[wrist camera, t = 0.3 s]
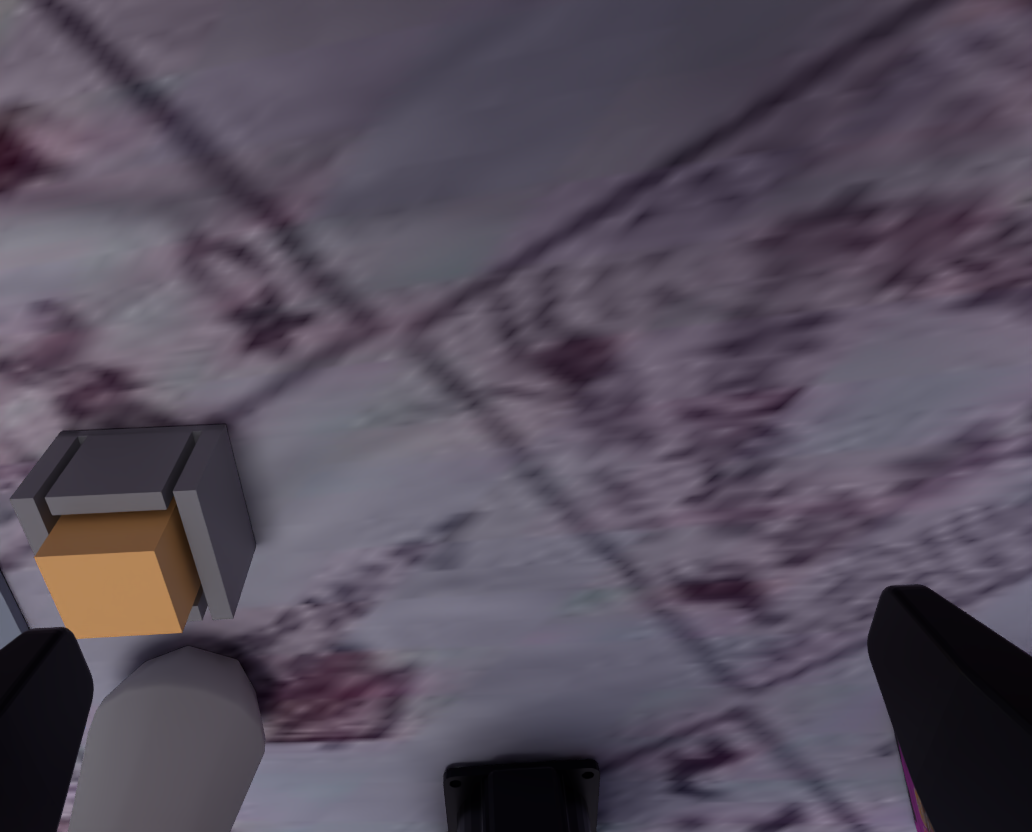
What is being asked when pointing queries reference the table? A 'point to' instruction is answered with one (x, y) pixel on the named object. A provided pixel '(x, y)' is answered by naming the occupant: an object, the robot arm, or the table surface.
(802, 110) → the table surface
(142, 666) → the salt shaker
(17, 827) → the robot arm
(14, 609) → the grey flat square slab
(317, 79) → the table surface
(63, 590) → the push button
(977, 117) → the table surface
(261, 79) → the table surface
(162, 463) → the button housing
